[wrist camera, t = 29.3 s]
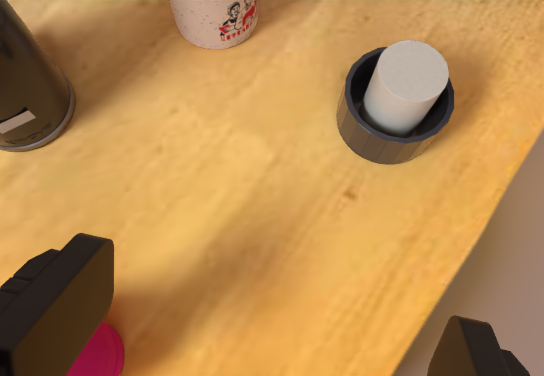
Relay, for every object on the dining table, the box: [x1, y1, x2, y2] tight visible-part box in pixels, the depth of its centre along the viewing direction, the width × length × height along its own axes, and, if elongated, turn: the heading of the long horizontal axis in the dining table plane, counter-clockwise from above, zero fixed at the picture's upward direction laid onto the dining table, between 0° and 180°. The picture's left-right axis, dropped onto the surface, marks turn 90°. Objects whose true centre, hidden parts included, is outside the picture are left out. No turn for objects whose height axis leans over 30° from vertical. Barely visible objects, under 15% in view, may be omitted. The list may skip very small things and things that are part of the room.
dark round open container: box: [337, 47, 454, 165], centre depth 42 cm, size 9×9×5 cm
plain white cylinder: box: [358, 40, 449, 138], centre depth 40 cm, size 6×6×8 cm
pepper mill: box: [65, 321, 124, 376], centre depth 28 cm, size 7×7×20 cm
